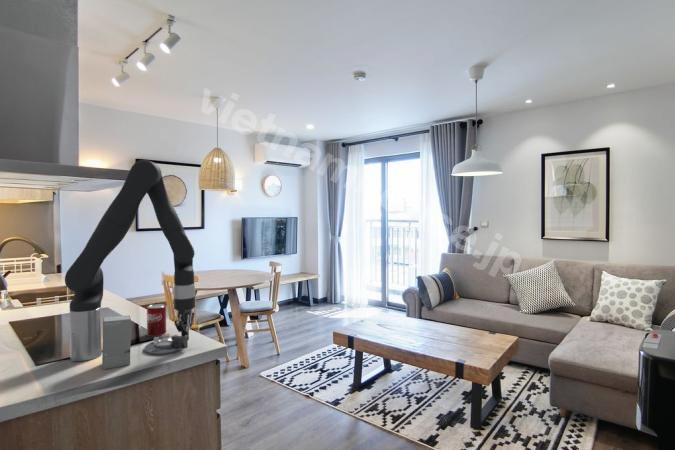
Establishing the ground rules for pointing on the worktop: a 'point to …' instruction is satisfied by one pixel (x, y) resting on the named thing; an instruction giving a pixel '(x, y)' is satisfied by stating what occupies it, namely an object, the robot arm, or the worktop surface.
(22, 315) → the worktop surface
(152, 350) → the cap plate
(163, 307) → the soda can
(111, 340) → the skincare box
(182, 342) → the small handled pan
